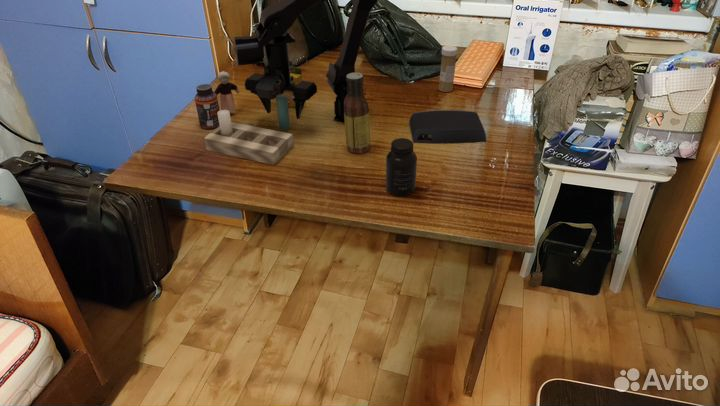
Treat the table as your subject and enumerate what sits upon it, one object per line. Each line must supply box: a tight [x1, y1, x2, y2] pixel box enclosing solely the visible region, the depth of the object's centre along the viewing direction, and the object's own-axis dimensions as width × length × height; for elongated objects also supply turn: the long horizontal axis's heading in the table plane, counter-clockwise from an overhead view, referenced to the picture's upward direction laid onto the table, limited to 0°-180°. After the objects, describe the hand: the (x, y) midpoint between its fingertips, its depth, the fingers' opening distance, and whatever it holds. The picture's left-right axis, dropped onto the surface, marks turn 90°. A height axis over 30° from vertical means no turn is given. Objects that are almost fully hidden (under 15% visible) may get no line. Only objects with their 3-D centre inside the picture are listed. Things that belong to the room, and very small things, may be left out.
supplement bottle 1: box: [194, 83, 221, 130], centre depth 143 cm, size 6×6×11 cm
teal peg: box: [275, 95, 291, 131], centre depth 142 cm, size 3×3×9 cm
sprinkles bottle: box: [438, 44, 458, 93], centre depth 160 cm, size 5×5×14 cm
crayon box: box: [277, 66, 303, 109], centre depth 152 cm, size 7×3×12 cm, turn 68°
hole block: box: [203, 121, 294, 166], centre depth 135 cm, size 20×10×4 cm, turn 68°
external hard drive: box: [408, 109, 487, 145], centre depth 141 cm, size 13×19×4 cm
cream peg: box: [217, 109, 233, 137], centre depth 135 cm, size 3×3×9 cm
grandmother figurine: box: [214, 70, 241, 115], centre depth 148 cm, size 8×4×13 cm, turn 131°
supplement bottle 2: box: [385, 137, 418, 197], centre depth 117 cm, size 7×7×12 cm
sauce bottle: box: [344, 71, 371, 154], centre depth 130 cm, size 6×6×20 cm
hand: (283, 115), depth 143 cm, fingers open, 9 cm apart
